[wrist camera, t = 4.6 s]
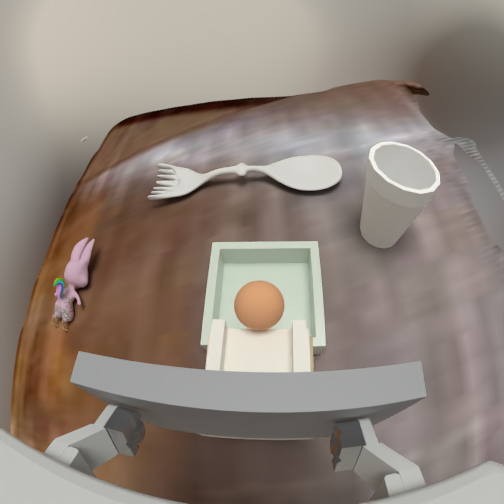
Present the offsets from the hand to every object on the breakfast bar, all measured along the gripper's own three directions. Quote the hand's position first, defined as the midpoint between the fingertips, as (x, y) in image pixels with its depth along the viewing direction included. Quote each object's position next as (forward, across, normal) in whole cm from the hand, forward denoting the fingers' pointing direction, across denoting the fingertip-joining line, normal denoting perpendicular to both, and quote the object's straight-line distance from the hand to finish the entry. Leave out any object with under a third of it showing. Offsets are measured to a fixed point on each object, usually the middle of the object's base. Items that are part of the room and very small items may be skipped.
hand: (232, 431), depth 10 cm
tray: (+24, -1, +4) cm, 25 cm away
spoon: (+40, +3, -11) cm, 42 cm away
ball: (+13, 0, -1) cm, 13 cm away
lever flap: (+9, -1, +5) cm, 11 cm away
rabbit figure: (+26, +28, +4) cm, 38 cm away
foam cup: (+32, -18, -4) cm, 37 cm away
